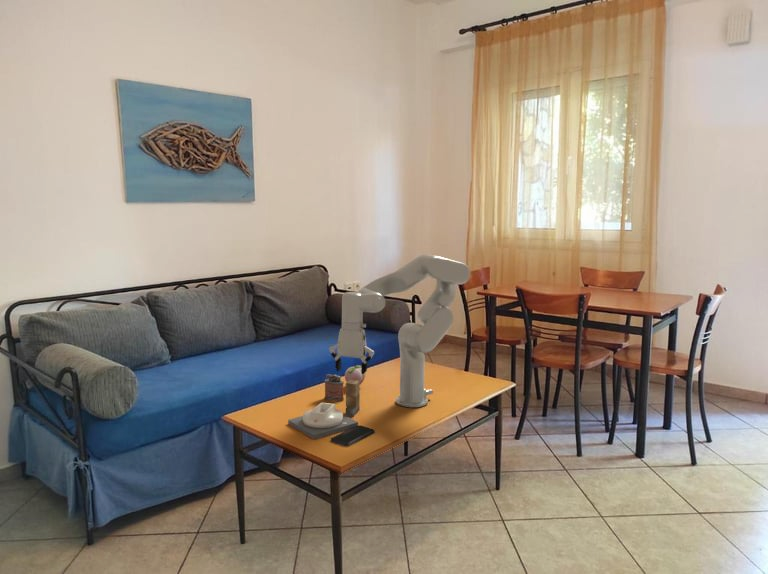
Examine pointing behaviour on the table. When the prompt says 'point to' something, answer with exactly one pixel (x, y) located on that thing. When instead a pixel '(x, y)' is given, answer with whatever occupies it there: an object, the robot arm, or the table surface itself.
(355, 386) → the tan block
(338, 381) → the lighter
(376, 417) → the table surface
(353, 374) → the decorative fruit
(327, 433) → the dial plate
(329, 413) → the dial
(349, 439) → the phone
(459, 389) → the table surface
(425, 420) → the table surface
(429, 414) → the table surface
